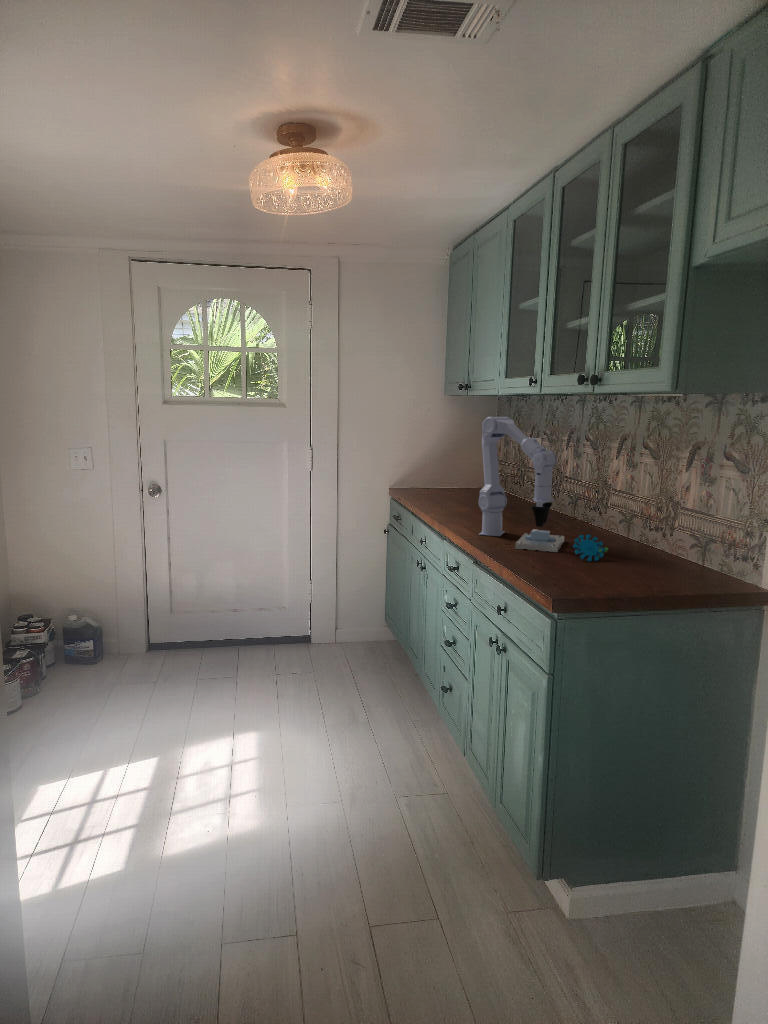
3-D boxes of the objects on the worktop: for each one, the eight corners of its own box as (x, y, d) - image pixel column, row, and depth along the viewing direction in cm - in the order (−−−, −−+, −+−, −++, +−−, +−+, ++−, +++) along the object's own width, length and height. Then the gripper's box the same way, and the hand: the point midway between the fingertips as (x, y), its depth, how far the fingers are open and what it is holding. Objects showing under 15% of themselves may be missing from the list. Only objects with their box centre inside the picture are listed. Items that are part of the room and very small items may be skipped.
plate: (524, 538, 250) (525, 532, 249) (564, 541, 245) (564, 535, 244) (515, 548, 231) (515, 542, 231) (557, 552, 226) (557, 545, 226)
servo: (526, 543, 242) (527, 528, 241) (555, 545, 238) (555, 530, 237) (524, 545, 238) (525, 530, 237) (553, 547, 234) (554, 532, 234)
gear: (574, 556, 213) (573, 530, 218) (569, 566, 217) (568, 540, 223) (609, 562, 212) (608, 536, 218) (603, 572, 217) (602, 546, 223)
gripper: (552, 488, 227) (550, 529, 229) (557, 484, 240) (555, 522, 242) (530, 487, 229) (529, 527, 231) (537, 483, 243) (535, 520, 245)
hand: (541, 524), depth 237 cm, fingers open, 7 cm apart
